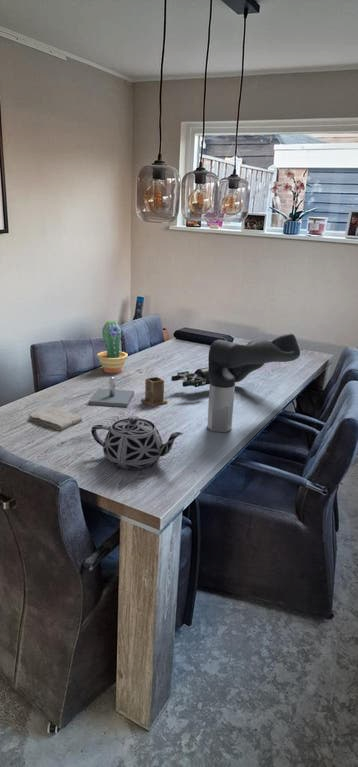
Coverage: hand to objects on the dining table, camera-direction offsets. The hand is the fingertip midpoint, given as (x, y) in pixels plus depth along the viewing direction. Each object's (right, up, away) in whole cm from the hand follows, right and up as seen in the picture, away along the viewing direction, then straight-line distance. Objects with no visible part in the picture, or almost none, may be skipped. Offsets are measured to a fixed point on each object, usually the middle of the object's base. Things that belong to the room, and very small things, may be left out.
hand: (177, 381), depth 221 cm
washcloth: (-46, -15, -26) cm, 55 cm away
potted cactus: (-33, +6, +37) cm, 50 cm away
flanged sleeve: (-10, -9, -4) cm, 14 cm away
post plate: (-28, -7, -3) cm, 29 cm away
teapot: (-13, -26, -55) cm, 62 cm away
